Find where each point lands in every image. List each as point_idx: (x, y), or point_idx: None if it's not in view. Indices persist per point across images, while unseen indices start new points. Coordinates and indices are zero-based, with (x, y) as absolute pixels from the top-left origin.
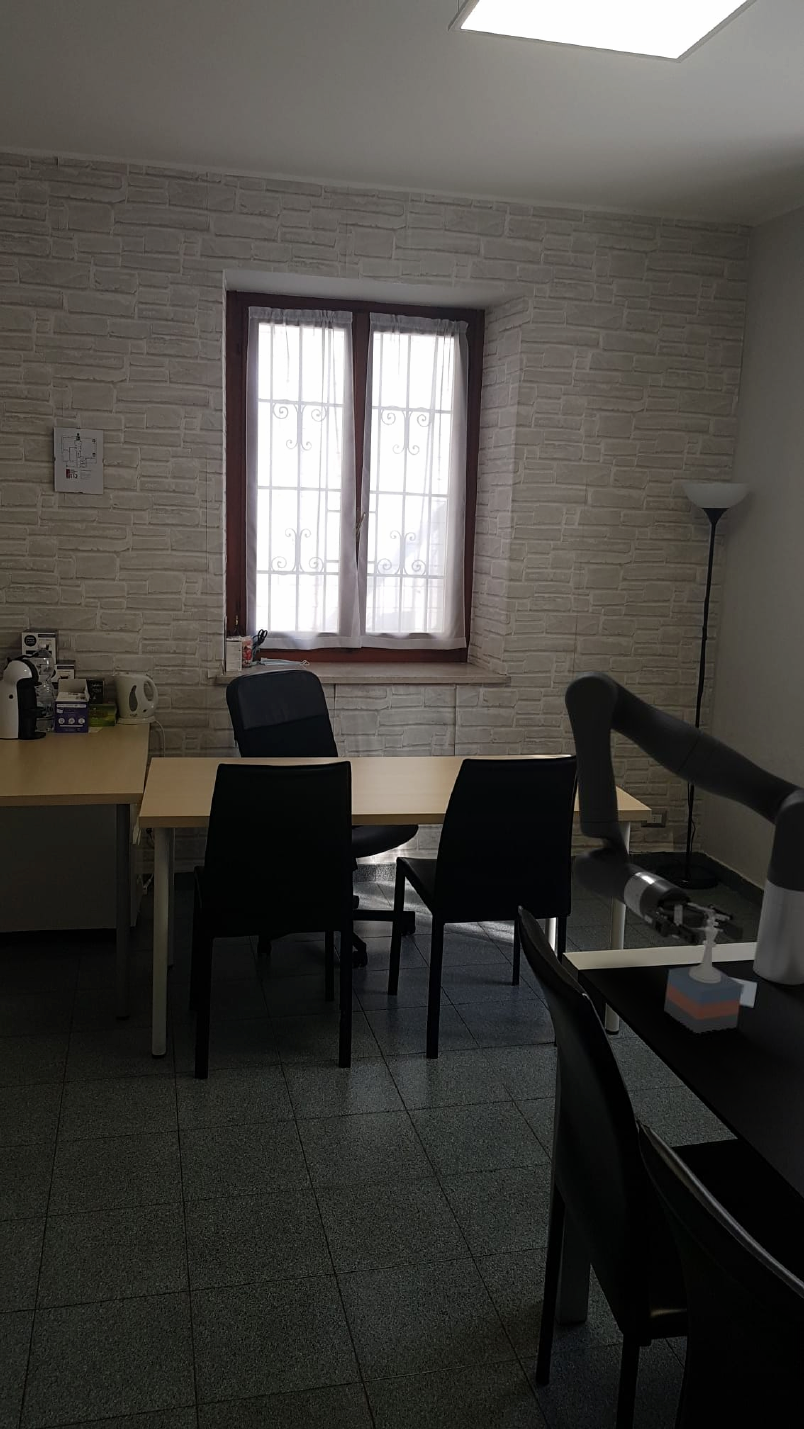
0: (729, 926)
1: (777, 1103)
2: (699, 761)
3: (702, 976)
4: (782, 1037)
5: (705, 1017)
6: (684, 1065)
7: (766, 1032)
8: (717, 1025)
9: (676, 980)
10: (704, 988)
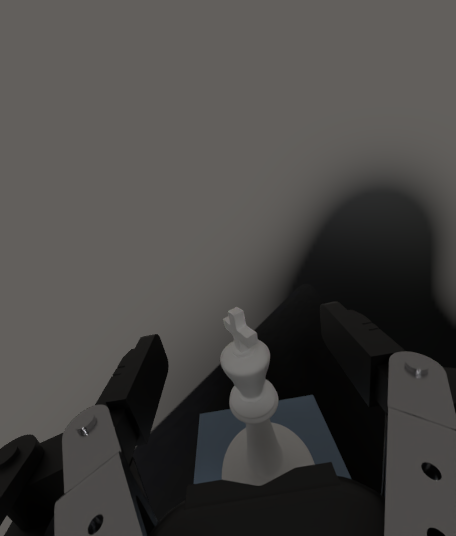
0: (143, 381)
1: (277, 320)
2: None
3: (291, 433)
4: (170, 428)
5: None
6: None
7: (180, 448)
8: None
9: None
10: (300, 406)
